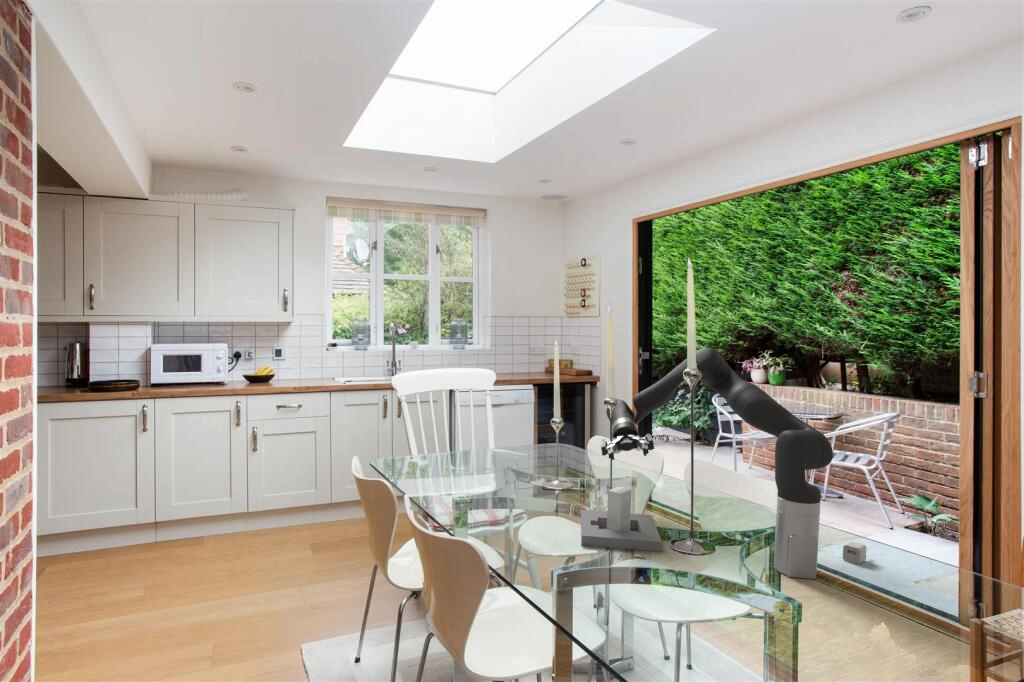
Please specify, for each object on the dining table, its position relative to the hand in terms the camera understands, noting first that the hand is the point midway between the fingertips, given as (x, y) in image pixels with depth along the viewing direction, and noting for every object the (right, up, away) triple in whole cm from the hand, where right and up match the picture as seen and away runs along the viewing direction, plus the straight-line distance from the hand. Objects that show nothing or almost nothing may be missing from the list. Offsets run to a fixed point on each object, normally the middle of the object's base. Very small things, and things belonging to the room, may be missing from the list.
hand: (628, 454), depth 164 cm
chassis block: (-2, -22, +2) cm, 22 cm away
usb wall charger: (+55, -25, -9) cm, 61 cm away
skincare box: (-2, -22, +3) cm, 22 cm away
